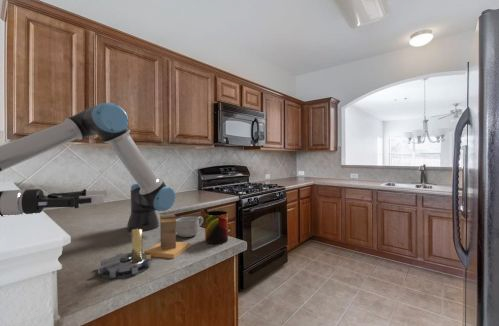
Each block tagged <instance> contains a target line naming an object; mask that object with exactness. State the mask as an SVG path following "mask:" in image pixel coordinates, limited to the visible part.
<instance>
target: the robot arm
mask: <svg viewBox="0 0 499 326" xmlns="http://www.w3.org/2000/svg"><path fill="white" fill-rule="evenodd" d="M128 124H129V116H128V114H127V112H126V111H125V110H124V109H123V107H121V106H120V105H118V104H117V103H116V104H115V103H113V102H107V103H106V102H101V103H98V104H96V105H94V106H90V107H87V108H85V109H83V110H81V111H80V112H78V113H76V114H74V115H72V116H69V117H67V118H66V117H65V119H64V121H63V122H61V123H58V124H56V125H53V126H50V127H47V128H45V129H42V130H39V131H37V132H34V133H31V134H29V135H25V136H23V137H20V138H18V139H15V140H12V141H10V142H7V143H4V144H2V145H0V172H2V171H5V170H7V169H9V168H11V167H13V166H16V165H18V164H21V163H23V162H27V161H28V160H30V159H32V158H36V157H38V156H39V155H42V154H44V153H47V152H49V151H51V150H54V149H56V148H59V147H60V146H63V145H66V144H67V143H70V142H73V141H74V140H78V141H81V140H83V139H87V138H89V137H92V136H93V137H94V136H98V137H99V138H100V140H101V142H103V143H105V144H109V146H110V147H111V148H112V150H113V151H114V152H115V154H116V155H117V157H118V159H119V161H121V163H122V164H123V166H124V167H125V168H126V169H127V171H128V172H129V174H130V175H131V177H132V179H134V181H135V182H136V183H134V184H132V185H131V186H130V215H129V219H128V221H127V224H126V226H127V227H126V230H127V231H130V232H132V230H133V229H138V228H141V229H142V232H146V231H150V230H154V229H157V228H158V227H160V221H159V220H160V219H159V218H158V216H157V215H158V214H157V213H156V212H165V211H169V210H170V209H171V208H172V207H173V206H174V203H175V202H176V201H175V200H176V191H175V190H174V188H172V187H171V186H167V184H166V183H165V182H164V180H163V179H162V178H159V177H157V176H156V174H155V172H154V171H153V169H152V168H151V166H150V165H149V163H148V161H147V160H146V157H144V155H143V154H142V152H141V151H140V149H139V147H138V146H137V144H136V143H135V141H134V140H133V138H132V136H131V135H130V132H131V131H132V129H131V128H130V126H129V125H128ZM105 198H108V189H99V190H87V188H86V189H85V188H84V189H82V190H80V191H69V192H51V193H48V194H47V195H45V194H44V191H43V189H40V188H33V189H32V188H31V189H26V190H24V189H15V190H14V189H11V190H10V189H9V190H1V191H0V215H1V217H4V216H3V215H8V216H10V215H15V216H18V215H19V216H21V215H24V214H25V215H32V214H33V213H35V214H40V213H42V212H43V210H44V209H46V208H74V209H79V208H80V206H88V205H90V206H91V205H98V204H99V205H100V204H105ZM23 213H24V214H23ZM20 214H21V215H20Z"/></svg>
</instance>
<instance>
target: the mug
mask: <svg viewBox="0 0 499 326" xmlns="http://www.w3.org/2000/svg"><path fill="white" fill-rule="evenodd" d="M228 213H229V212H227V211H226V210H225V211H224V210H211V211H206V212H205V215H204V218H205V219H204V221H205V222H204V226H205V227H204V229H205V230H204V231H205V233H204V234H205V236H204V238H205V244H207V243H208V245H211V244H212V245H213V246H218V244H220V245H224V244H227V242H229V241H228V240H229V232H228V231H229V228H228V227H229V225H228V223H229V221H228V220H229V219H228V218H229V214H228ZM223 243H224V244H223Z"/></svg>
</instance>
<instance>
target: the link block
mask: <svg viewBox="0 0 499 326" xmlns="http://www.w3.org/2000/svg"><path fill="white" fill-rule="evenodd" d="M159 218H160V219H159V220H160V221H159V227H160V228H159V229H160V242H161V249H162V250H167V249H173V248H176V242H177V238H176V237H177V232H176V219H177V217H176V214H174V213H167V214H160V216H159Z"/></svg>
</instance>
